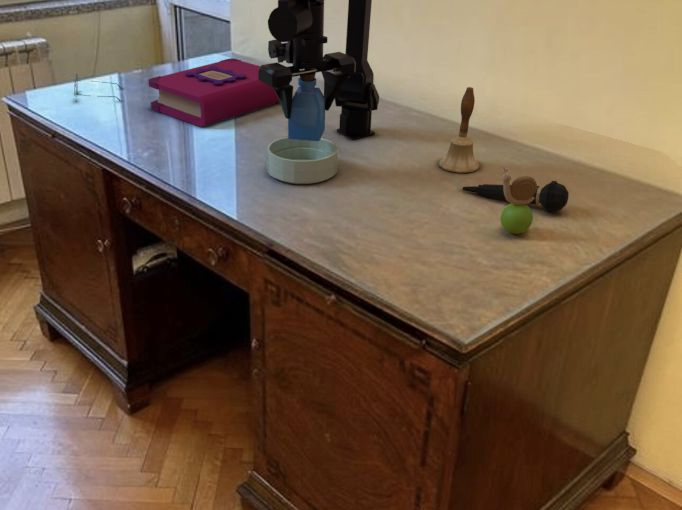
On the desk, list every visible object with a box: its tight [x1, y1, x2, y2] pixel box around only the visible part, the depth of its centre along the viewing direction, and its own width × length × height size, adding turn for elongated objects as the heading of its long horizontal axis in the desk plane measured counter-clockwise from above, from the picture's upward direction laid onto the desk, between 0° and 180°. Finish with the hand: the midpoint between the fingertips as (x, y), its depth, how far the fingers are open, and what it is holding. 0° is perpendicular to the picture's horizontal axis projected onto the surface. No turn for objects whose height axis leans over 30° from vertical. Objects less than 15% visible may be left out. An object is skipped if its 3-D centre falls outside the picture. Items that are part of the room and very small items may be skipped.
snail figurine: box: [500, 166, 538, 235], centre depth 132 cm, size 5×6×12 cm
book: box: [147, 58, 280, 128], centre depth 190 cm, size 21×28×8 cm
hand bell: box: [438, 86, 480, 174], centre depth 156 cm, size 8×8×16 cm
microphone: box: [461, 180, 570, 214], centre depth 145 cm, size 6×6×20 cm
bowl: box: [266, 136, 339, 185], centre depth 156 cm, size 14×14×5 cm
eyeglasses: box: [73, 72, 122, 102], centre depth 196 cm, size 11×13×5 cm
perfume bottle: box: [287, 72, 326, 141], centre depth 149 cm, size 6×6×12 cm
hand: (307, 114), depth 151 cm, fingers closed on perfume bottle, 9 cm apart
